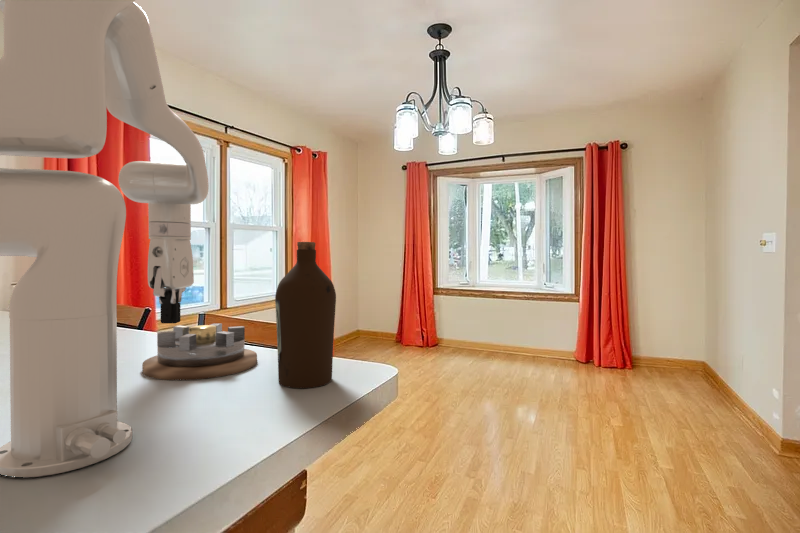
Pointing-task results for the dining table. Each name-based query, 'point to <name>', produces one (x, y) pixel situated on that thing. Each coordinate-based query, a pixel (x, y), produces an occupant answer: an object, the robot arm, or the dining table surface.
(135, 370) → the dining table surface
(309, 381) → the olive oil
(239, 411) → the dining table surface
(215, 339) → the crenellated turret ring
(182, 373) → the board
